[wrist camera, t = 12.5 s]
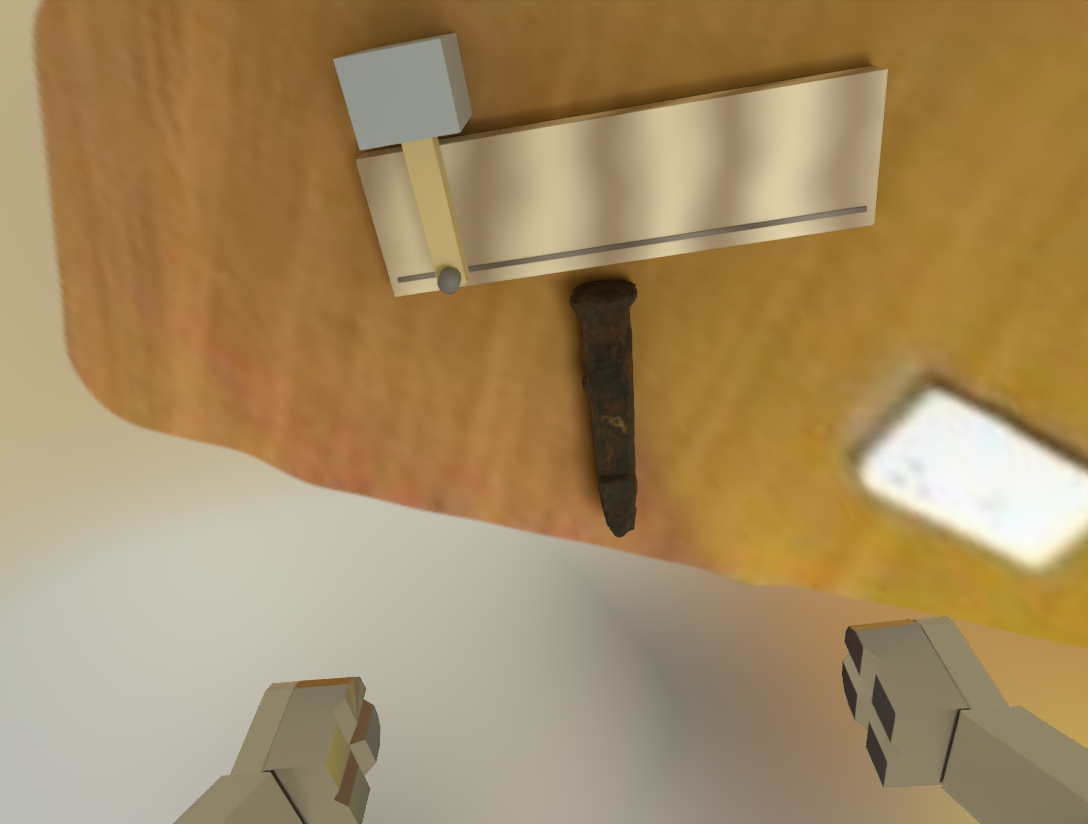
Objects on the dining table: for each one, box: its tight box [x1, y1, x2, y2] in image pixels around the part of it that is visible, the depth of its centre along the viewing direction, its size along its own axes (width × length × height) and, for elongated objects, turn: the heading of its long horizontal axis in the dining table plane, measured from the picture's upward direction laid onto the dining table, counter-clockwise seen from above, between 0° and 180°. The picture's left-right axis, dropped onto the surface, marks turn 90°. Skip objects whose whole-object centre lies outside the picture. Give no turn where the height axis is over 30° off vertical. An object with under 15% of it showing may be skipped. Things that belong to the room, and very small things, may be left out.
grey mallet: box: [333, 32, 472, 294], centre depth 36 cm, size 5×12×6 cm, turn 10°
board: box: [355, 66, 888, 297], centre depth 39 cm, size 28×8×2 cm, turn 99°
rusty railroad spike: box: [570, 280, 637, 538], centre depth 46 cm, size 19×4×5 cm, turn 4°
